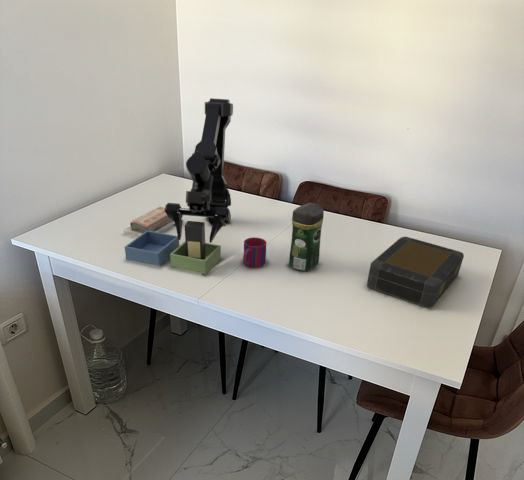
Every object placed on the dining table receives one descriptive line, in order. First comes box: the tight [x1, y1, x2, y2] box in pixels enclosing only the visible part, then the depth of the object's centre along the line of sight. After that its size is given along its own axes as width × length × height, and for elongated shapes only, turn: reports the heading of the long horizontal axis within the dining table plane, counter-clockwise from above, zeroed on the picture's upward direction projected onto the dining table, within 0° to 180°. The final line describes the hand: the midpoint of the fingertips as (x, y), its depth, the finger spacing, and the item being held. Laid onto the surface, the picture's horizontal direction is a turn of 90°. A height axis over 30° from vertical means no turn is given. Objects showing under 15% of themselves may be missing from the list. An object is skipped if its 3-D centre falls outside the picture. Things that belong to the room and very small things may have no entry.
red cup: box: [242, 236, 267, 269], centre depth 148 cm, size 7×10×7 cm
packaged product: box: [123, 206, 176, 238], centre depth 167 cm, size 18×5×10 cm
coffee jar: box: [288, 202, 325, 272], centre depth 146 cm, size 10×8×19 cm
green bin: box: [169, 241, 222, 276], centre depth 148 cm, size 11×11×5 cm
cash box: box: [366, 236, 465, 308], centre depth 143 cm, size 25×20×8 cm
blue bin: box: [124, 230, 180, 267], centre depth 152 cm, size 13×11×5 cm
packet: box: [184, 220, 206, 260], centre depth 145 cm, size 4×5×12 cm
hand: (194, 241), depth 144 cm, fingers open, 9 cm apart
